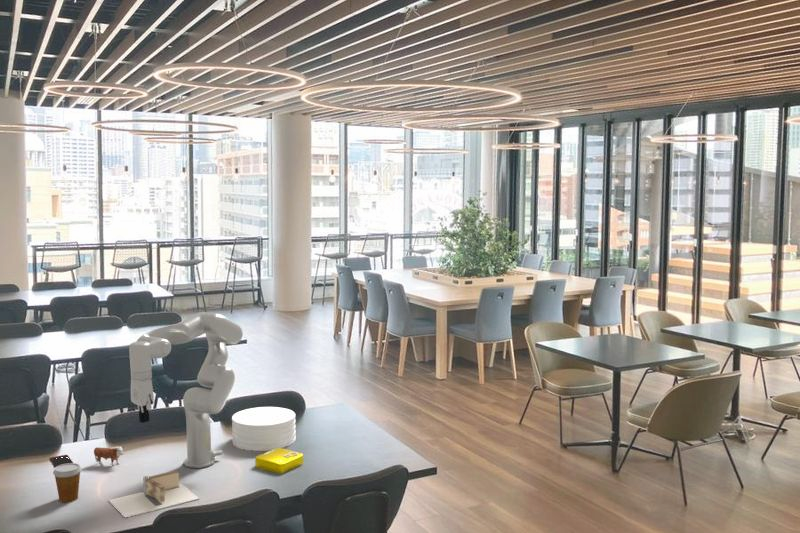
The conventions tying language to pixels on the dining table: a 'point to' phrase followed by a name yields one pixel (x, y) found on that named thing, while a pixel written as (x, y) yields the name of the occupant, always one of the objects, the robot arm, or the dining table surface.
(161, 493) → the fence panel
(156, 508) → the card
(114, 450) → the bull figurine
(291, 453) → the element tile
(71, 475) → the disposable coffee cup
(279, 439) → the plate stack
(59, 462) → the smartphone
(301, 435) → the dining table surface
